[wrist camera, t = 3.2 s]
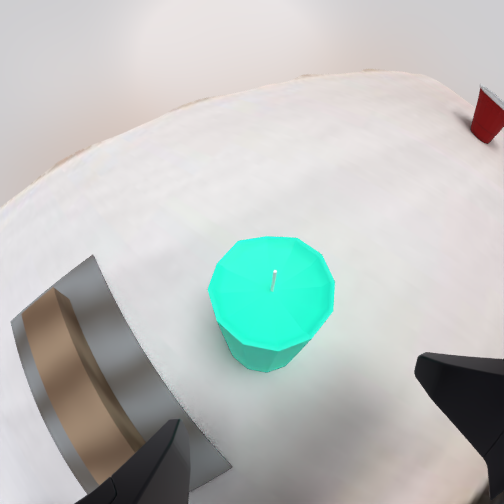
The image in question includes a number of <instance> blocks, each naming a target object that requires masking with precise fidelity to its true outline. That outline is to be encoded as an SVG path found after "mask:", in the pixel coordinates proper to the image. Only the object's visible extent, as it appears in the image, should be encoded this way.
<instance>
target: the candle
mask: <svg viewBox="0 0 504 504" xmlns="http://www.w3.org/2000/svg"><path fill="white" fill-rule="evenodd" d="M334 289H335V281H334V279H333V277H332V275H331V273H330V270H329V268H328V266H327V264H326V262H325V260H324V258H323V256H322V254H320V253H319V252H317V251H316V250H314V249H313V248H312V247H310V246H309V245H307V244H306V243H304V242H303V241H301V240H300V239H298V238H291V237H270V236H266V237H260V238H253V239H247V240H240V241H238V242H237V243H236V244H235V245H234V246H233V247H232V248H231V249H230V250H229V251H228V252H227V253H226V254H225V256H224V257H223V258H222V259H221V260H220V261H219V262H218V263H217V265H216V268H215V271H214V273H213V276H212V279H211V282H210V284H209V287H208V292H209V296H210V299H211V303H212V306H213V310H214V313H215V316H216V320H217V322H218V325H219V327H220V329H221V331H222V334H223V336H224V338H225V340H226V342H227V345H228V347H229V349H230V351H231V353H232V355H233V357H234V358H235V359H237V360H238V361H239V362H240V363H241V364H242V365H244V366H245V367H246V368H247V369H251V370H256V371H261V372H270V371H273V370H276V369H279V368H281V367H284V366H286V365H287V364H288V363H289V362H290V361H291V360H292V359H293V358H294V357H295V356H296V355H297V354H298V353H299V352H300V350H301V349H302V348H303V347H304V346H305V345H306V344H307V343H308V342H309V341H310V340H311V339H312V338H313V336H314V335H315V334H316V333H317V331H318V330H319V329H320V328H321V326H322V325H323V324H324V322H325V321H326V320H327V319H328V317H329V316H330V315H331V313H332V312H333V306H334Z"/></svg>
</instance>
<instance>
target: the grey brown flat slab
mask: <svg viewBox="0 0 504 504" xmlns="http://www.w3.org/2000/svg"><path fill="white" fill-rule="evenodd" d="M11 326H12V330H13V334H14V338H15V342H16V346H17V350H18V353H19V357H20V360H21V363H22V366H23V369H24V372H25V375H26V378H27V381H28V384H29V387H30V389H31V392H32V394H33V397H34V399H35V402H36V404H37V407H38V409H39V411H40V413H41V416H42V418H43V420H44V422H45V424H46V426H47V428H48V430H49V432H50V434H51V436H52V438H53V440H54V442H55V444H56V446H57V447H58V449H59V451H60V453H61V455H62V456H63V458H64V460H65V461H66V463H67V465H68V466H69V468H70V469H71V471H72V473H73V474H74V476H75V477H76V479H77V480H78V482H79V483H80V484H81V486H82V487H83V489H84V490H85V492H86V493H87V494H89V493H91V492H92V491H93V490H95V489H96V488H97V487H98V486H99V485H101V484H102V483H103V482H104V481H105V480H106V479H107V478H108V477H111V475H112V474H113V473H114V472H116V471H117V470H118V469H119V468H120V467H121V466H122V465H123V464H124V463H125V462H126V461H127V460H128V459H129V458H130V457H131V456H133V455H134V454H135V453H136V452H137V451H138V450H139V449H140V448H141V447H142V446H143V445H144V444H145V443H146V442H147V441H148V440H149V439H150V438H151V437H152V436H153V435H154V434H155V433H156V432H157V431H158V430H159V429H160V428H161V427H162V426H163V425H164V424H165V423H166V422H167V421H168V420H169V419H174V418H180V419H181V420H182V421H183V423H184V425H185V427H186V429H187V431H188V434H189V443H190V463H191V473H190V485H189V492H190V491H192V490H194V489H196V488H198V487H200V486H201V485H203V484H205V483H207V482H209V481H210V480H212V479H214V478H215V477H217V476H219V475H221V474H222V473H224V472H225V471H227V470H229V469H230V468H232V466H231V465H230V464H229V462H228V461H227V460H226V459H225V458H224V457H223V456H222V455H221V454H220V453H219V452H218V451H217V449H216V448H215V447H214V446H213V445H212V444H211V443H210V441H209V440H208V439H207V438H206V437H205V436H204V434H203V433H202V432H201V431H200V430H199V428H198V427H197V426H196V425H195V423H194V422H193V421H192V420H191V418H190V417H189V416H188V415H187V413H186V412H185V411H184V409H183V408H182V407H181V405H180V404H179V403H178V401H177V400H176V399H175V397H174V396H173V395H172V393H171V392H170V390H169V389H168V388H167V386H166V385H165V383H164V382H163V380H162V379H161V377H160V376H159V374H158V373H157V371H156V370H155V368H154V367H153V365H152V364H151V362H150V361H149V359H148V358H147V356H146V354H145V353H144V351H143V350H142V348H141V346H140V345H139V343H138V341H137V340H136V338H135V336H134V335H133V333H132V331H131V329H130V328H129V326H128V324H127V322H126V320H125V319H124V317H123V315H122V313H121V311H120V309H119V307H118V306H117V304H116V302H115V300H114V298H113V296H112V294H111V292H110V290H109V288H108V286H107V284H106V282H105V279H104V277H103V275H102V273H101V271H100V269H99V266H98V264H97V262H96V260H95V257H94V256H93V255H92V256H90V257H89V258H87V259H86V260H85V261H83V262H82V263H81V264H79V265H78V266H77V267H75V268H74V269H73V270H71V271H70V272H69V273H68V274H66V275H65V276H64V277H62V278H61V279H60V280H59V281H57V282H56V283H55V284H54V285H52V286H51V287H50V288H49V289H47V290H46V291H45V292H44V293H43V294H41V295H40V296H39V297H38V298H37V299H35V300H34V301H33V302H32V303H31V304H30V305H28V306H27V307H26V308H25V309H24V310H23V311H22V312H20V313H19V314H18V315H17V316H16V317H15V318H14V319H13V320H12V321H11Z"/></svg>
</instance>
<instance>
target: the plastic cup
mask: <svg viewBox="0 0 504 504" xmlns="http://www.w3.org/2000/svg"><path fill="white" fill-rule="evenodd" d="M503 127H504V102H503V101H502V100H501V99H500V98H499V97H498V96H497V95H496V94H494V93H493V92H492V91H491V90H489V89H488V88H486V87H485V86H483V85H481V84H480V92H479V98H478V102H477V106H476V109H475V113H474V118H473V121H472V125H471V131H472V133H473V134H474V135H475V136H476V137H477V138H478V139H480V140H481V141H482V142H484V143H486V144H488V143H489V142H491V140H492V139H493V138H494V137H495V136H496V135H497V134H498V133H499V132H500V130H501V129H502V128H503Z"/></svg>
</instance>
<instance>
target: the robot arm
mask: <svg viewBox="0 0 504 504" xmlns="http://www.w3.org/2000/svg"><path fill="white" fill-rule="evenodd" d="M414 373H415V377H416V378H417V380H418V381H419V382H420V384H421V385H422V387H423V388H424V389H425V391H426V392H427V394H428V395H429V397H430V398H431V399H432V400H433V402H434V403H435V404H436V405H437V406H438V407H439V408H440V409H441V410H442V412H443V413H444V414H445V415H446V416H447V417H448V418H449V419H450V421H451V422H452V423H453V424H454V425H455V426H456V427H457V428H458V430H459V431H460V432H461V433H462V434H463V435H464V436H465V438H466V439H467V440H468V441H469V442H470V443H471V445H472V446H473V447H474V448H475V449H476V450H477V452H478V453H479V454H480V455H481V456H482V457H483V459H484V460H485V462H486V464H487V468H488V478H489V494H490V500H493V499H494V498H495V497H496V496H497V495H499V494H500V493H501V492H502V491H503V490H504V359H503V360H502V359H494V358H480V357H467V356H457V355H447V354H438V353H430V352H425V353H423V354H421V355H419V356H418V358H417V362H416V366H415V371H414ZM190 473H191V463H190V443H189V434H188V431H187V429H186V427H185V425H184V423H183V421H182V420H181V419H180V418H174V419H169V420H168V421H167V422H166V423H165V424H164V425H163V426H162V427H161V428H160V429H159V430H158V431H157V432H156V433H155V434H154V435H153V436H152V437H151V438H150V439H149V440H148V441H147V442H146V443H145V444H144V445H143V446H142V447H141V448H140V449H139V450H138V451H137V452H136V453H135V454H134V455H133V456H131V457H130V458H129V459H128V460H127V461H126V462H125V463H124V464H123V465H122V466H121V467H120V468H119V469H118V470H117V471H116V472H114V473H113V474H112V475H111V477H108V478H107V479H106V480H105V481H104V482H103V483H102V484H101V485H99V486H98V487H97V488H96V489H95V490H93V491H92V492H91V493H89V494H88V495H86V496H85V497H84V498H82V499H81V500H79V501H78V502H76V503H75V504H188V497H189V485H190Z"/></svg>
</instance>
